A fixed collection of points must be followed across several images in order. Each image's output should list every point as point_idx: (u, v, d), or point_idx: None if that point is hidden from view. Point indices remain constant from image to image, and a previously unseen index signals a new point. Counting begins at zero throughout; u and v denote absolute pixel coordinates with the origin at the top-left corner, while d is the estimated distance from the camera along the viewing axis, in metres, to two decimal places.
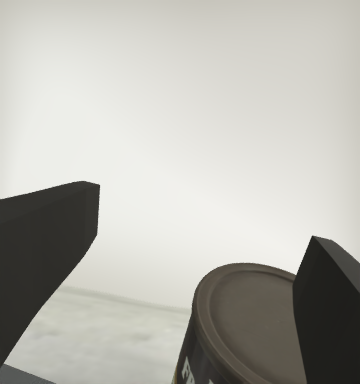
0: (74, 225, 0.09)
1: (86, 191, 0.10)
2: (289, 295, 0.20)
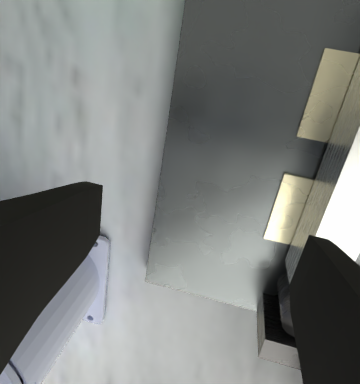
0: (77, 226, 0.09)
1: (89, 192, 0.10)
2: None
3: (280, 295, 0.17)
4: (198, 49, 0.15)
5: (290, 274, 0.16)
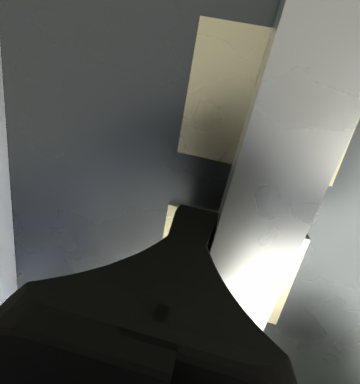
0: None
1: (216, 223, 0.09)
2: None
3: None
4: (25, 21, 0.10)
5: None
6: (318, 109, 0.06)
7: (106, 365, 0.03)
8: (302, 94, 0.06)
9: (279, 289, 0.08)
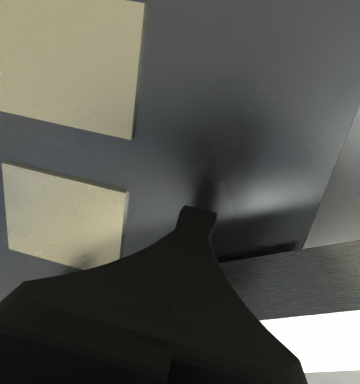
0: None
1: None
2: None
3: None
4: None
5: None
6: (338, 349, 0.08)
7: (118, 369, 0.03)
8: (344, 337, 0.08)
9: None
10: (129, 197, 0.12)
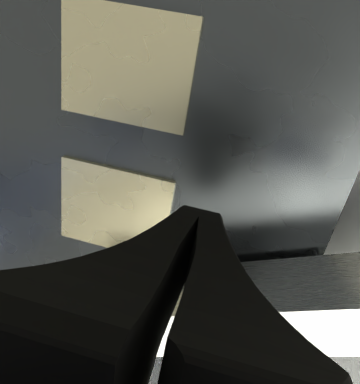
0: (187, 254, 0.09)
1: (198, 218, 0.09)
2: None
3: None
4: None
5: None
6: None
7: None
8: None
9: None
10: (177, 187, 0.13)
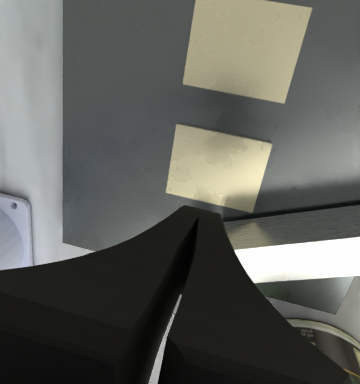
0: (187, 254, 0.09)
1: (198, 218, 0.09)
2: None
3: None
4: None
5: None
6: None
7: None
8: None
9: (333, 276, 0.15)
10: (273, 147, 0.16)
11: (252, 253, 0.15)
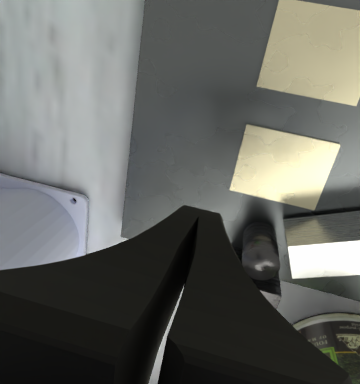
0: (187, 254, 0.09)
1: (198, 218, 0.09)
2: None
3: (259, 234, 0.18)
4: (163, 1, 0.16)
5: (292, 233, 0.17)
6: None
7: None
8: None
9: None
10: (341, 147, 0.17)
11: (323, 248, 0.16)
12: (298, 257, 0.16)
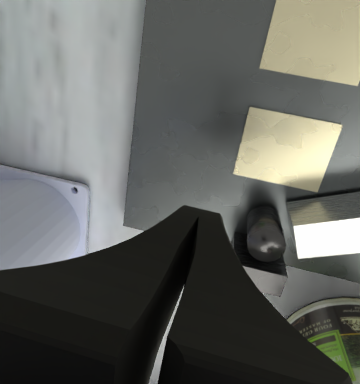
0: (187, 254, 0.09)
1: (198, 218, 0.09)
2: None
3: (264, 216, 0.18)
4: None
5: (297, 214, 0.17)
6: None
7: None
8: None
9: None
10: (343, 128, 0.17)
11: (328, 227, 0.16)
12: (304, 236, 0.16)
